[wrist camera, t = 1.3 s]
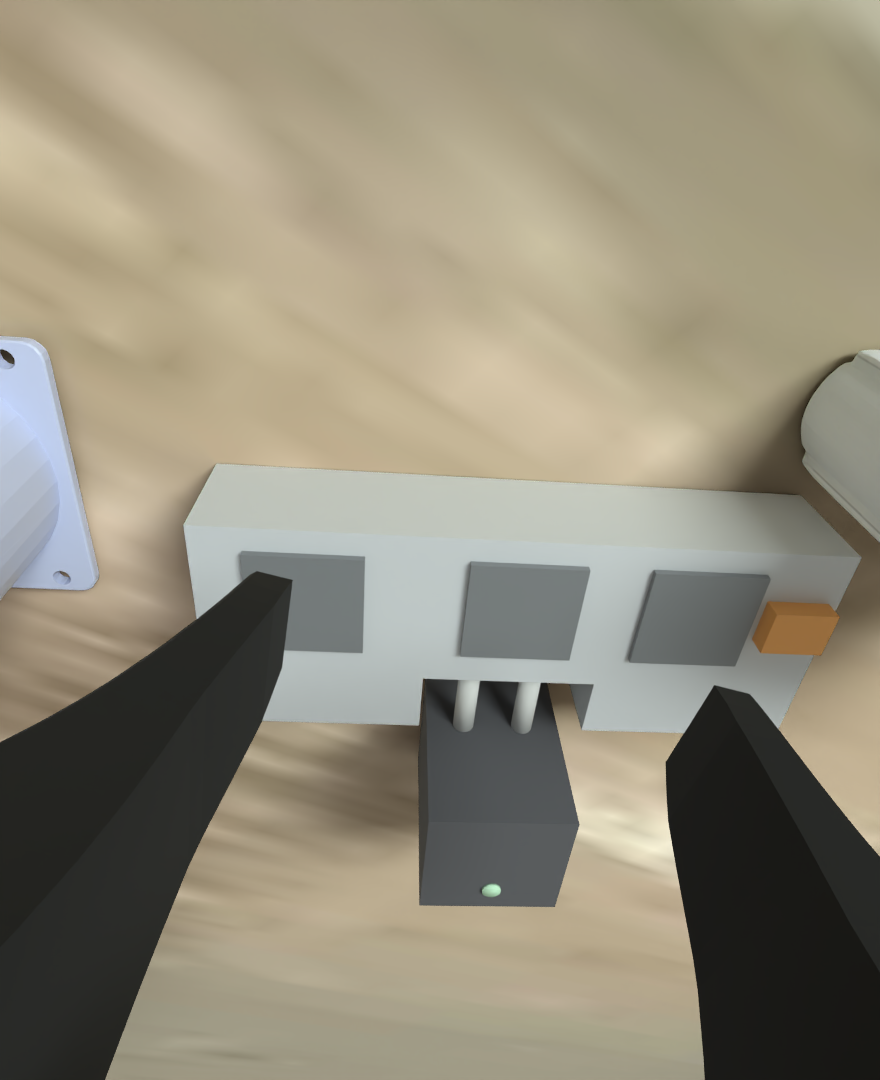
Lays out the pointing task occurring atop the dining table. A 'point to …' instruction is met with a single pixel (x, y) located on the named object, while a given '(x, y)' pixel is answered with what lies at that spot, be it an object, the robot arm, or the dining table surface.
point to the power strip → (523, 589)
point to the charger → (492, 796)
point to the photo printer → (847, 438)
